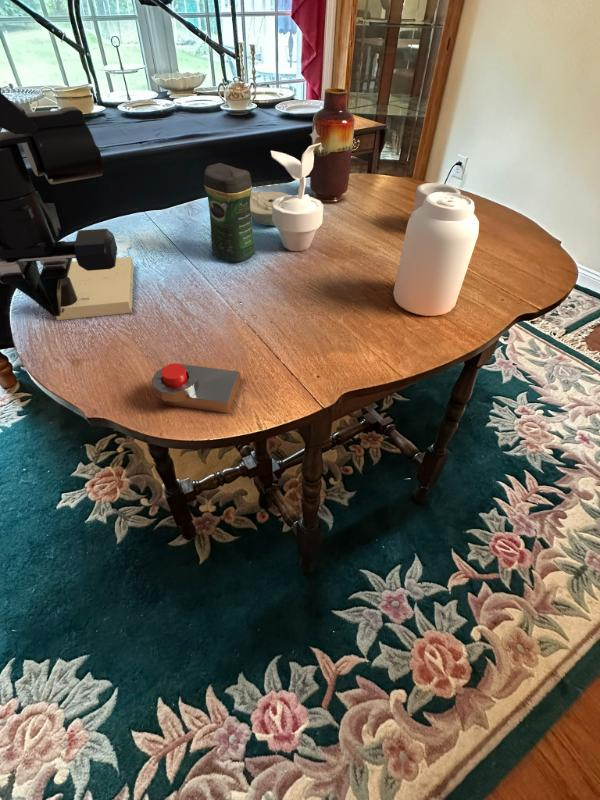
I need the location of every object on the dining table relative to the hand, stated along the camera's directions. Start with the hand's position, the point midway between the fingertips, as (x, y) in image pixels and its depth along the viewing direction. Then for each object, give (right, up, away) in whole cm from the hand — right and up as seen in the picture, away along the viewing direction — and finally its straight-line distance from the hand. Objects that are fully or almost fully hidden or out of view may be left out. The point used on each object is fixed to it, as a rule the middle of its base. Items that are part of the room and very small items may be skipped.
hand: (57, 314), depth 58 cm
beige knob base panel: (-9, +9, +28) cm, 31 cm away
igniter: (+17, -10, +9) cm, 22 cm away
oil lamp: (+22, +37, +58) cm, 72 cm away
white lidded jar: (+58, +9, +30) cm, 66 cm away
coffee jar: (+17, +22, +42) cm, 51 cm away
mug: (+67, +34, +56) cm, 94 cm away
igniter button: (+14, -8, +5) cm, 17 cm away
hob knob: (-10, +7, +21) cm, 25 cm away
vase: (+41, +48, +70) cm, 94 cm away
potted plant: (+31, +26, +46) cm, 62 cm away
